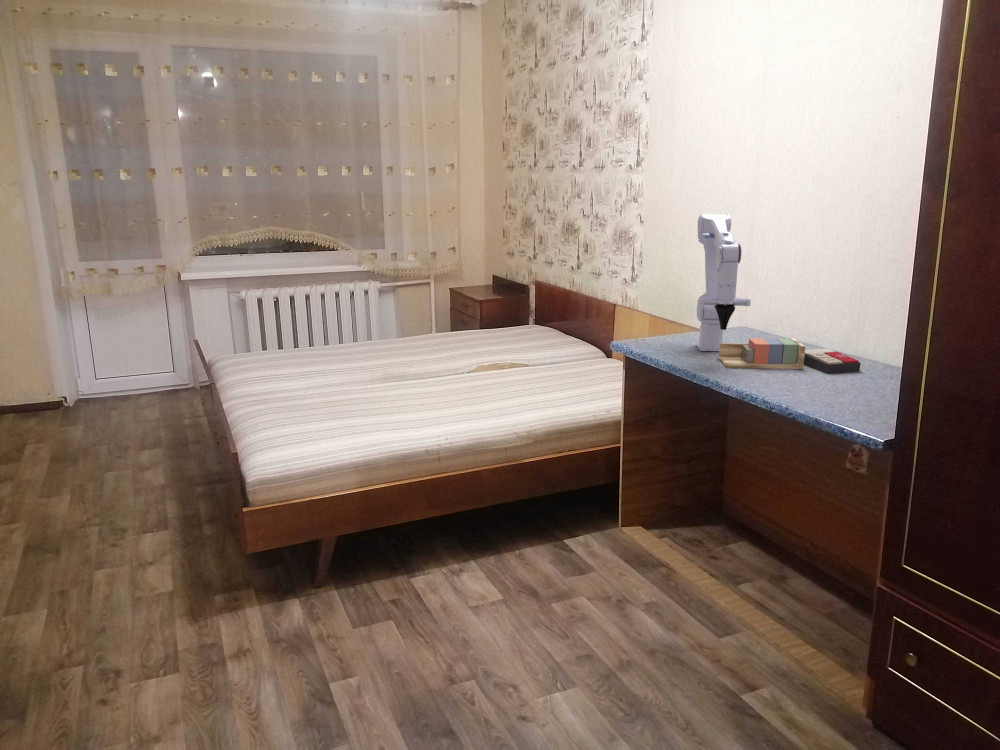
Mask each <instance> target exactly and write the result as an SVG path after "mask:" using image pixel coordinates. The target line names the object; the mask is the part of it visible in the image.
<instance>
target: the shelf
mask: <svg viewBox="0 0 1000 750" xmlns="http://www.w3.org/2000/svg"><path fill="white" fill-rule="evenodd" d="M789 339H791V340H792V341H794V342H795V343H796V344H798V349H797V359H796V364H754V363H746V362H745V361H744V360H743V359H742V358H741V353H742V345H749V343H734V342H733V343H732V342H731V343H728V342H727V343H726V342H723V343H720V349H719V351H718V352H719V353H718V359H719V360H720V361H721V363H722V364H723V365H724V366H725V368H726V369H765V370H766V369H773V370H774V369H775V370H777V369H778V370H786V369H787V370H804V366H805V365H804V356H805V350H806V346H805V345H804V344H803V343H801V342H800V341H798V340H797V339H796V338H795V337H790V338H789Z"/></svg>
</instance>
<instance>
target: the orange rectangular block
mask: <svg viewBox="0 0 1000 750" xmlns="http://www.w3.org/2000/svg"><path fill="white" fill-rule="evenodd" d="M763 339H764V338H748V344H749V346H751V347H752V348H753V349H754V350H755V351H754V362H753V363H754V364H768V355H769V344H768V343H767V342H766V341H765V340H763Z"/></svg>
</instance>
